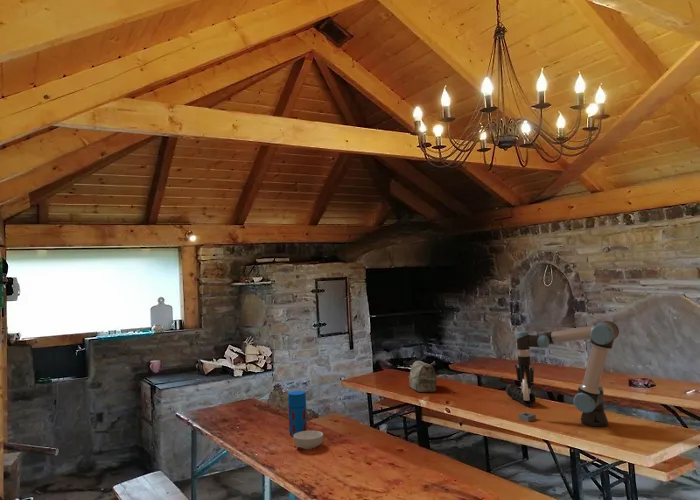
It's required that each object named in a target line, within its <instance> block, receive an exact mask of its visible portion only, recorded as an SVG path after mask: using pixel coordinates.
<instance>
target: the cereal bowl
mask: <svg viewBox="0 0 700 500" xmlns="http://www.w3.org/2000/svg"><path fill="white" fill-rule="evenodd" d="M323 440H324V433H323V432H322V431H319V430H313V429H312V430H311V429H310V430H307V431H301V432H298V433H296V434H294V436H293V442H294V444H295V445H296V446H297V447H299V448H301V449H302V450H303V449H304V450H312V448H313V449H315V448H316V447H318V446H321V444H322V443H323V442H324V441H323Z"/></svg>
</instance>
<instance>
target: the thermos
mask: <svg viewBox="0 0 700 500" xmlns="http://www.w3.org/2000/svg"><path fill="white" fill-rule="evenodd" d="M306 396H307V394H306V391H303V390H293V391H289V392H288V393H287V405H288V406H287V407H288V409H287V410H288V429H289V430H288V431H289V436H291V437H294V434H296V433H298V432H301V431H308V427H307V426H308V425H307V424H308V423H307V418H308V417H307V397H306Z"/></svg>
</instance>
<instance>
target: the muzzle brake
mask: <svg viewBox="0 0 700 500" xmlns="http://www.w3.org/2000/svg"><path fill="white" fill-rule="evenodd" d="M505 391H506V395H507V396H508V397H510V398H511V399H514V401H516V402H520V403H521V404H522V403H523V405H524V406H526V407H528V408H530V407H531V406H533V405H535V402H536V400H537V399H536V395H535V394H533V393H532V392H531V393H529V398H530V400H529V401H525V400H524V397H523V393H522V387H521V386H518V385H516V384H509V385H507V386H506V388H505Z"/></svg>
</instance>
